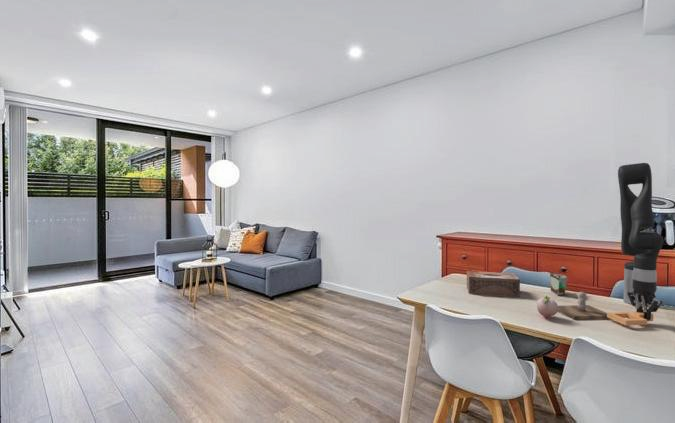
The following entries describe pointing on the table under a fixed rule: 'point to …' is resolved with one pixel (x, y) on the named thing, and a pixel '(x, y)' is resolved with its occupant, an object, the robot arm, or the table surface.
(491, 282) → the tissue box cover
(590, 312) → the keeper
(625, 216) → the robot arm
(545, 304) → the decorative fruit
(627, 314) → the link
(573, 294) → the table surface
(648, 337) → the table surface
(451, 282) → the table surface
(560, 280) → the food container
